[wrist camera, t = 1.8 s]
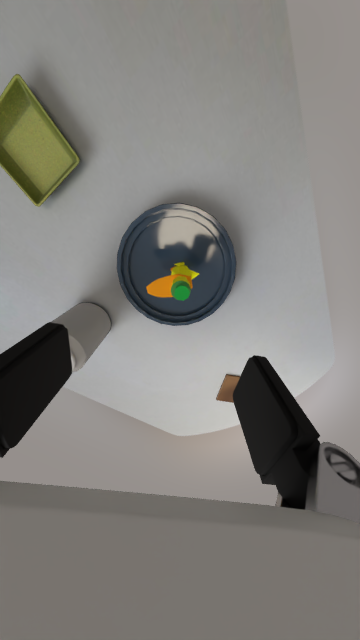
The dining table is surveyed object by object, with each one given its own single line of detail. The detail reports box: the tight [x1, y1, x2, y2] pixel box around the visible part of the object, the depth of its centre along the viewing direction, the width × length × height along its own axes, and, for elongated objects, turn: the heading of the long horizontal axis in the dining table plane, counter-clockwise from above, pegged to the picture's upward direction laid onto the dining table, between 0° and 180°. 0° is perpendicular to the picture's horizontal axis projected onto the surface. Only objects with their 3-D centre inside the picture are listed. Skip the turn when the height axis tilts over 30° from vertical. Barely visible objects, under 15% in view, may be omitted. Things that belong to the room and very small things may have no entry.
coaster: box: [216, 374, 240, 403], centre depth 40 cm, size 8×8×1 cm
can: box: [52, 303, 111, 372], centre depth 28 cm, size 8×8×12 cm
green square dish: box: [0, 74, 80, 207], centre depth 22 cm, size 9×9×2 cm
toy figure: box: [146, 262, 199, 301], centre depth 23 cm, size 7×4×12 cm, turn 100°
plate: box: [117, 203, 236, 326], centre depth 28 cm, size 18×18×2 cm
